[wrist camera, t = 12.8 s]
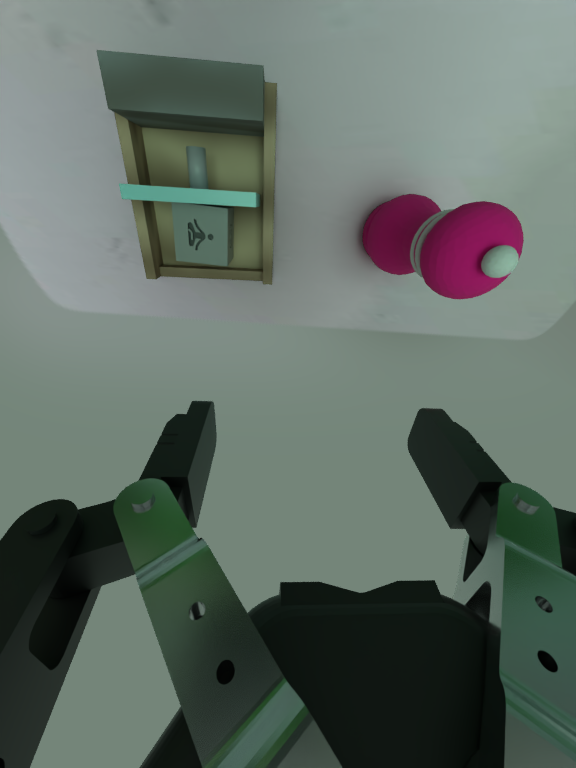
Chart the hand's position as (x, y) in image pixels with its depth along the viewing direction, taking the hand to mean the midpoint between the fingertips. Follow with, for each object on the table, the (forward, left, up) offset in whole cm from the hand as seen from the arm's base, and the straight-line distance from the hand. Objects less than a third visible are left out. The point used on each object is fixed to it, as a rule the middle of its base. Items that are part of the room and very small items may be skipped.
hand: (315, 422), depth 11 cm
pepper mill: (-5, +11, -28) cm, 31 cm away
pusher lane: (-8, -9, -28) cm, 30 cm away
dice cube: (-4, -9, -28) cm, 29 cm away
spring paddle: (-9, -9, -27) cm, 30 cm away
